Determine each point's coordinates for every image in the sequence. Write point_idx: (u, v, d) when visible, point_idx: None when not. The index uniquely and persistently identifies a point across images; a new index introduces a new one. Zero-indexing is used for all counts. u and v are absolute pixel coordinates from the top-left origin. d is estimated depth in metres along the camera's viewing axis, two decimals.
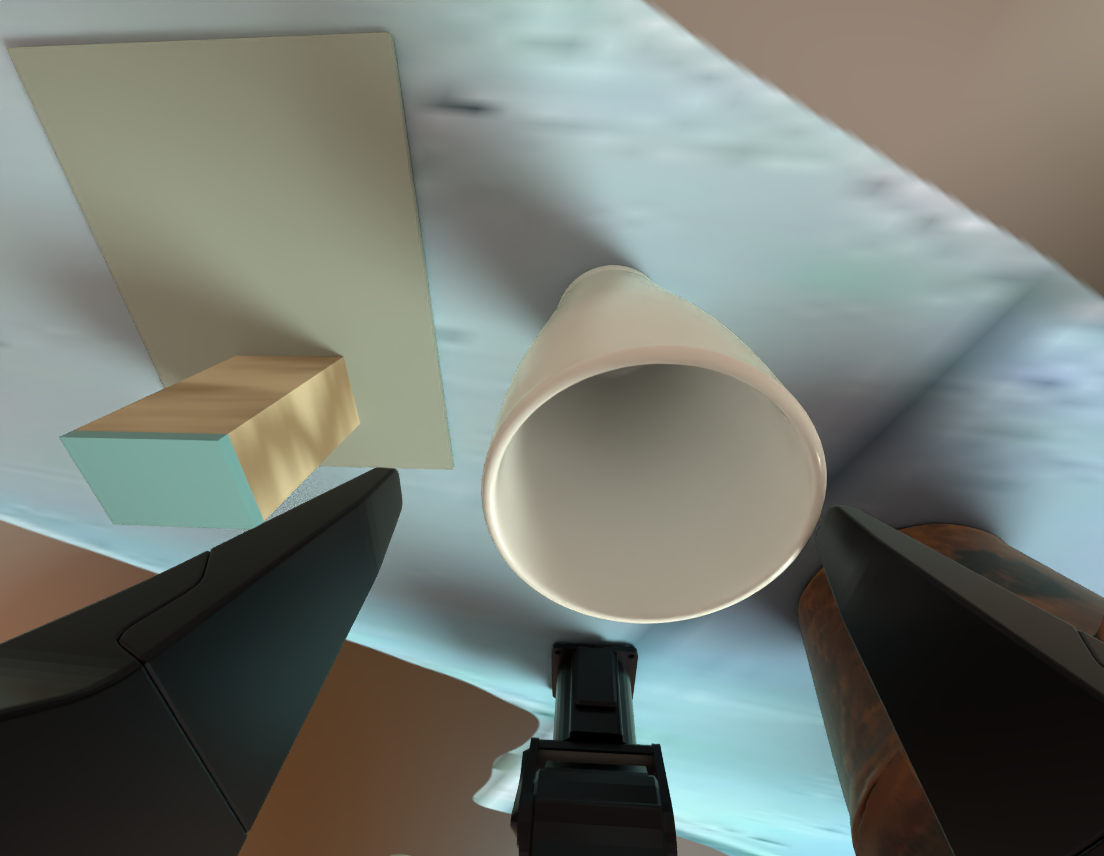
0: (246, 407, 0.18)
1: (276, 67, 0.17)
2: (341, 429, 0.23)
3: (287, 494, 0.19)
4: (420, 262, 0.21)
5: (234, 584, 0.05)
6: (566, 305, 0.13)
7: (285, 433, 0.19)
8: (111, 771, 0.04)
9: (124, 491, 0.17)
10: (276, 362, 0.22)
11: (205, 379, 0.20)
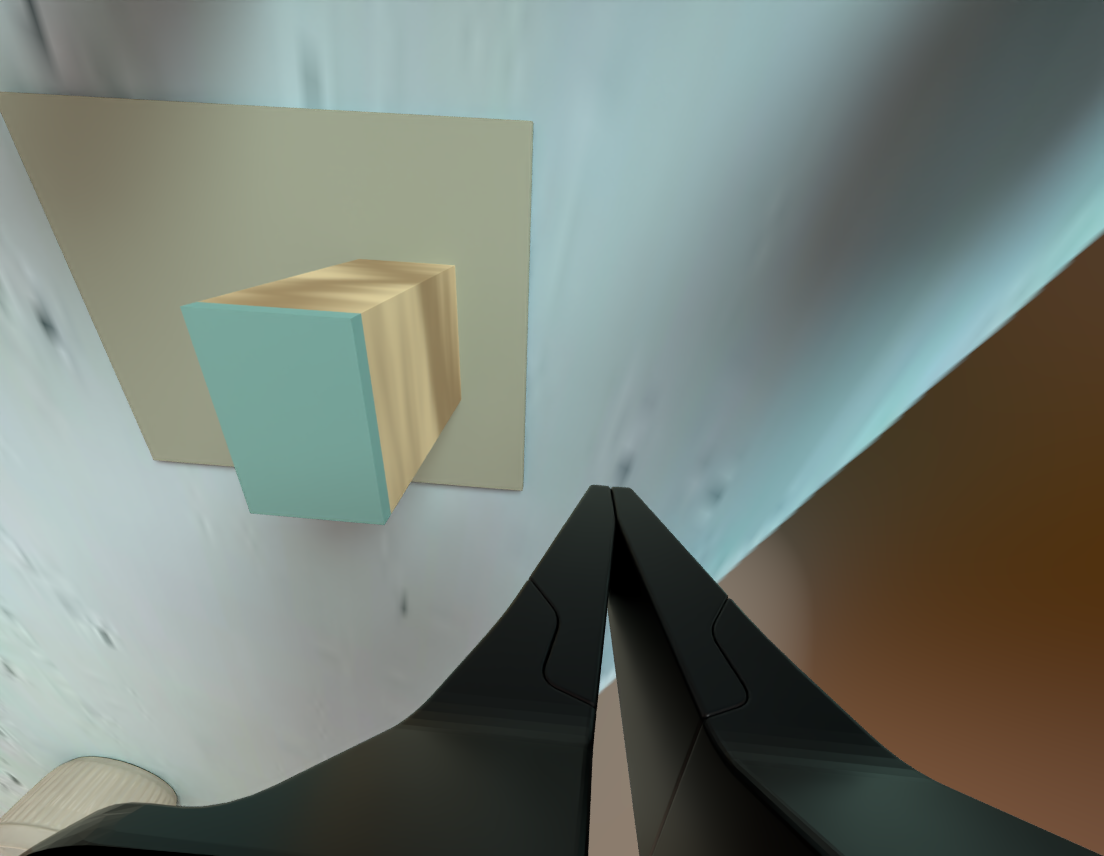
0: None
1: (75, 235, 0.18)
2: (425, 271, 0.16)
3: (383, 299, 0.12)
4: (211, 106, 0.16)
5: (594, 618, 0.05)
6: None
7: (316, 286, 0.13)
8: None
9: (319, 482, 0.12)
10: None
11: None
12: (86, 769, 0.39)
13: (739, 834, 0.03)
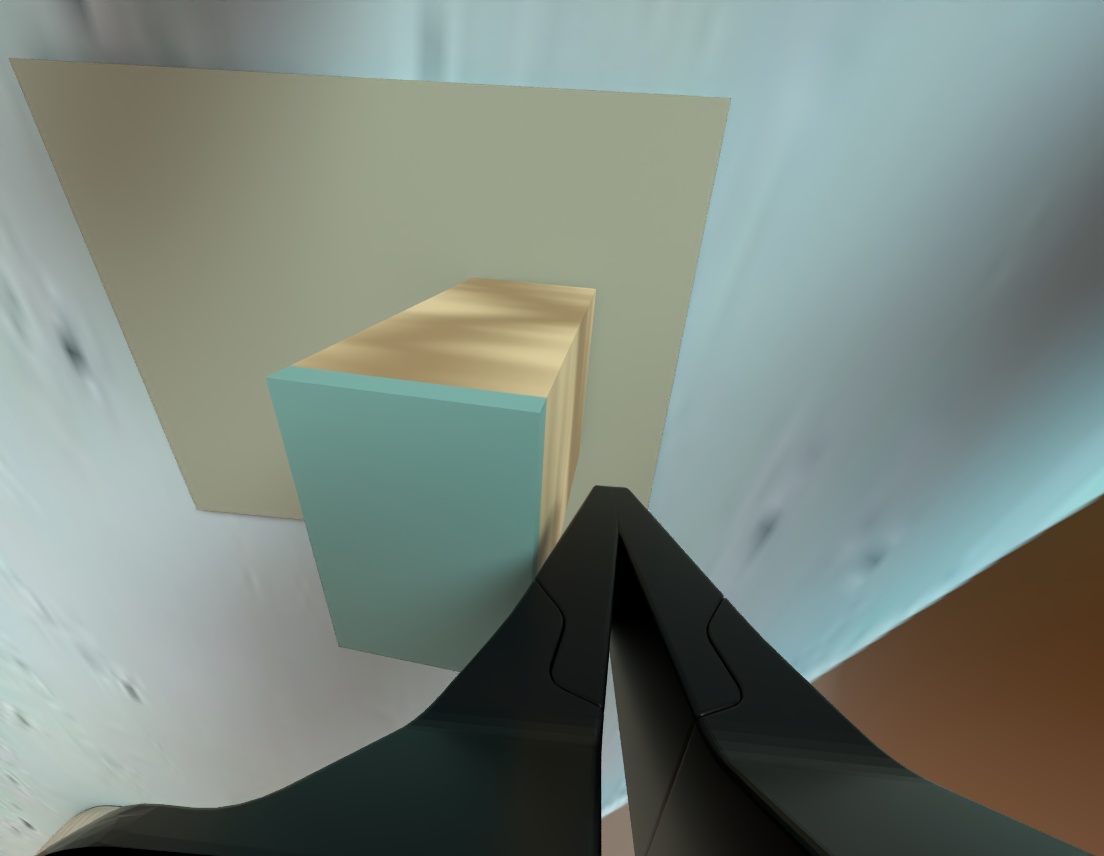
0: None
1: (112, 245, 0.14)
2: (568, 299, 0.12)
3: (557, 359, 0.08)
4: (298, 77, 0.12)
5: (600, 618, 0.05)
6: None
7: (446, 330, 0.09)
8: None
9: (442, 624, 0.08)
10: None
11: None
12: None
13: (733, 835, 0.03)
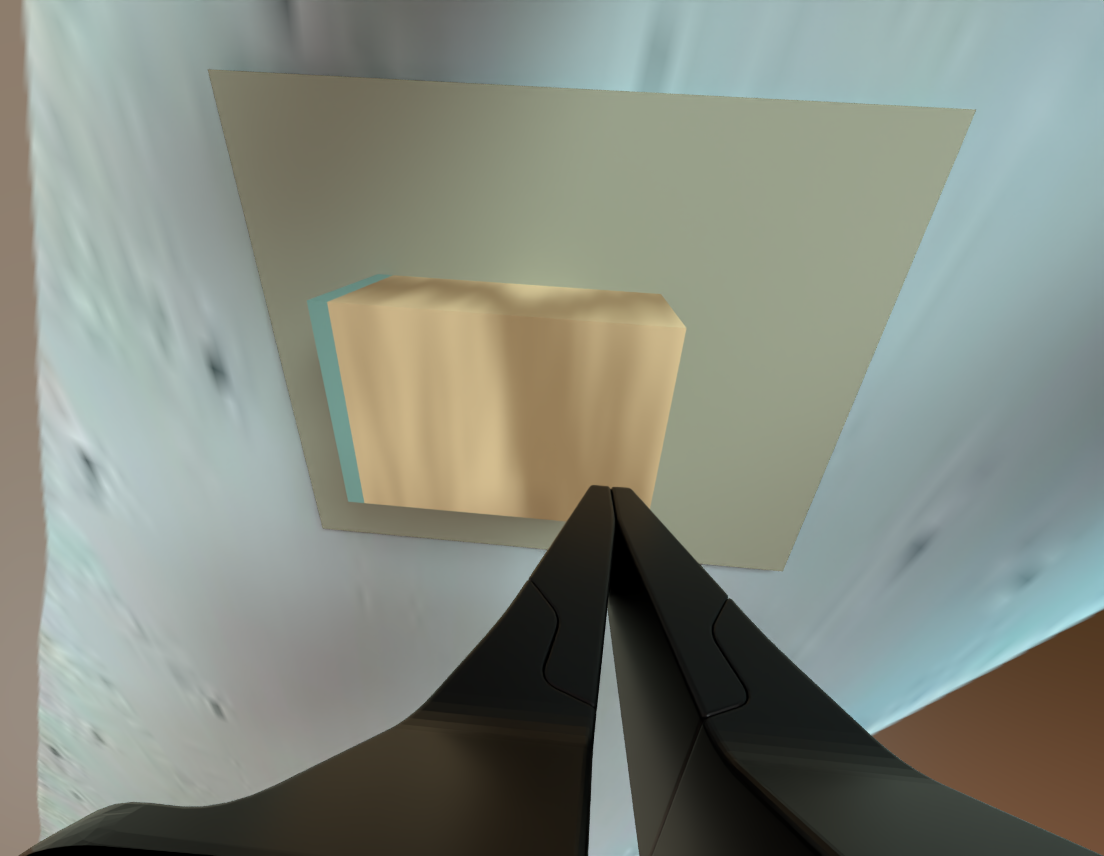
0: None
1: (283, 261, 0.14)
2: (605, 316, 0.11)
3: (395, 305, 0.10)
4: (514, 89, 0.11)
5: (594, 618, 0.05)
6: None
7: (464, 289, 0.13)
8: None
9: None
10: None
11: None
12: None
13: (741, 835, 0.03)
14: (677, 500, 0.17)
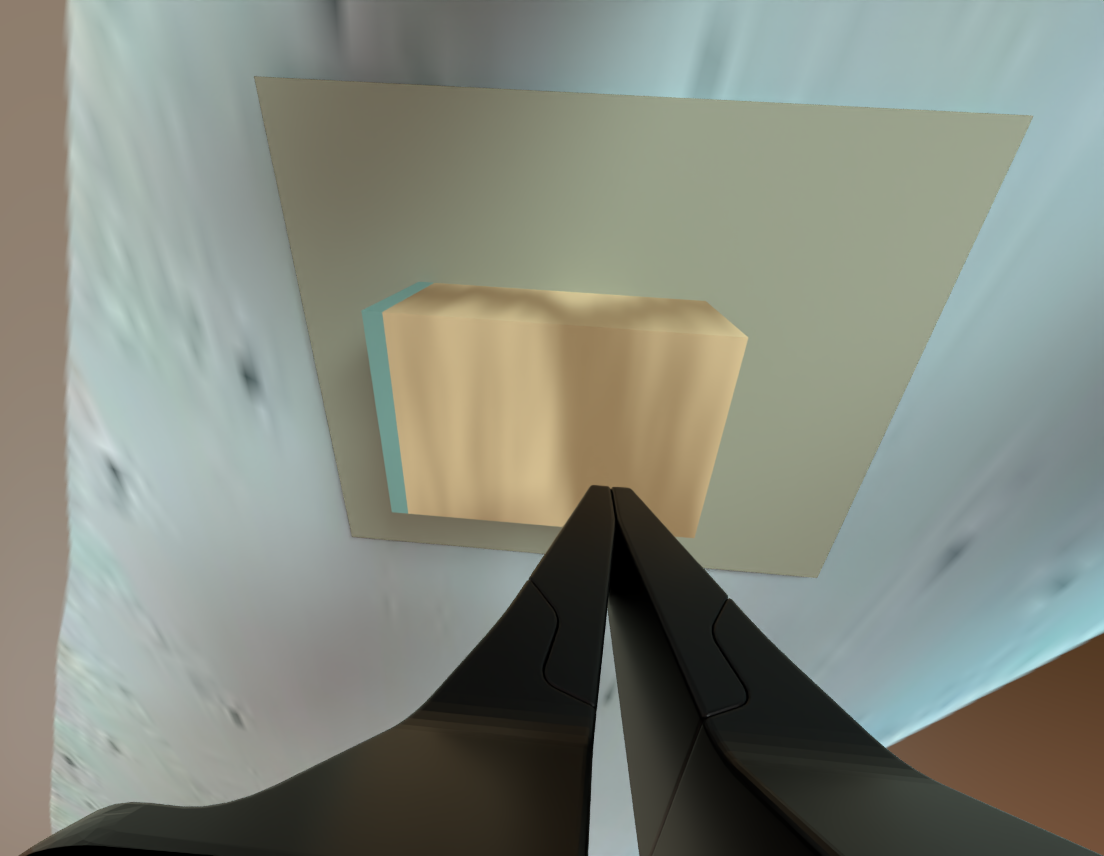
0: None
1: (323, 269, 0.14)
2: (662, 325, 0.11)
3: (451, 315, 0.10)
4: (565, 96, 0.11)
5: (594, 618, 0.05)
6: None
7: (511, 297, 0.12)
8: None
9: None
10: None
11: None
12: None
13: (741, 835, 0.03)
14: (713, 507, 0.17)
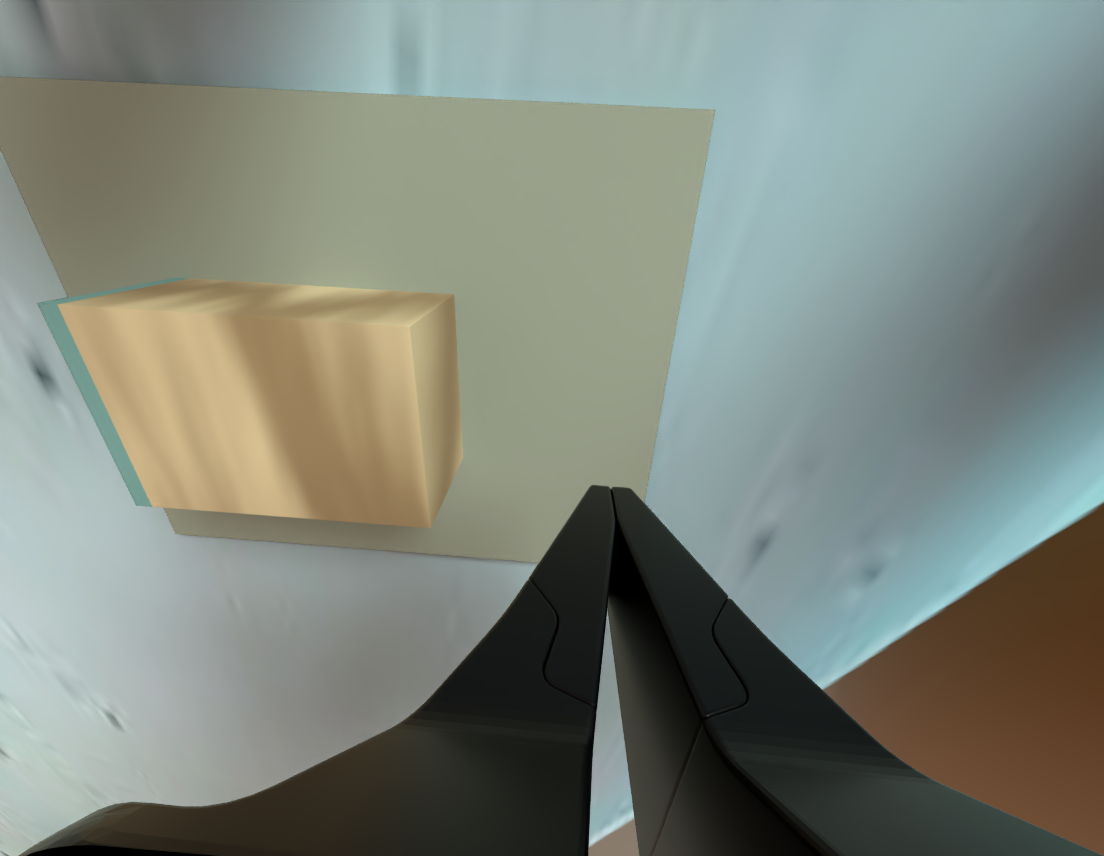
0: None
1: (80, 265, 0.14)
2: (344, 316, 0.11)
3: (127, 307, 0.10)
4: (268, 92, 0.12)
5: (594, 618, 0.05)
6: None
7: (241, 292, 0.13)
8: None
9: None
10: None
11: None
12: None
13: (741, 835, 0.03)
14: (515, 500, 0.17)
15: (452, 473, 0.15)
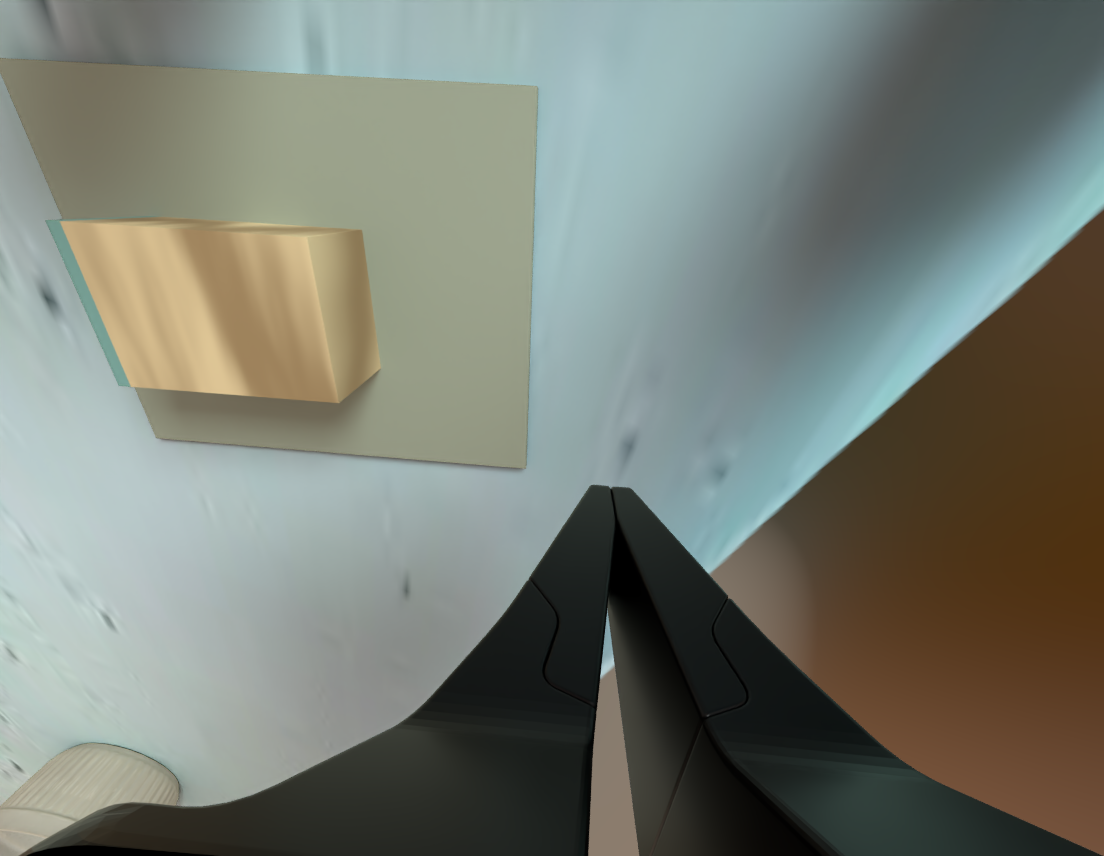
0: None
1: (78, 206, 0.18)
2: (264, 232, 0.15)
3: (109, 223, 0.15)
4: (214, 72, 0.16)
5: (594, 618, 0.05)
6: None
7: (196, 222, 0.17)
8: None
9: None
10: None
11: None
12: (88, 755, 0.39)
13: (740, 834, 0.03)
14: (425, 405, 0.21)
15: (366, 373, 0.19)
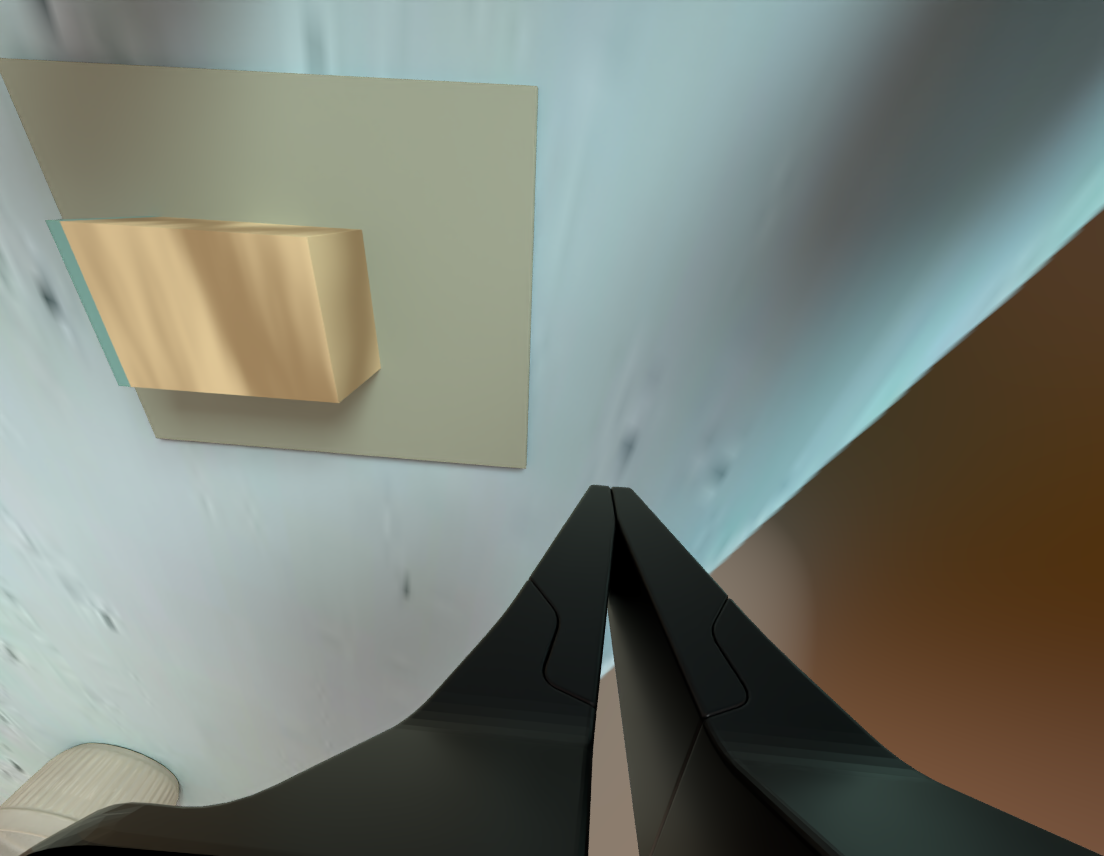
0: None
1: (78, 206, 0.18)
2: (264, 232, 0.15)
3: (109, 223, 0.15)
4: (214, 72, 0.16)
5: (594, 618, 0.05)
6: None
7: (196, 222, 0.17)
8: None
9: None
10: None
11: None
12: (88, 755, 0.39)
13: (740, 834, 0.03)
14: (425, 405, 0.21)
15: (366, 373, 0.19)
